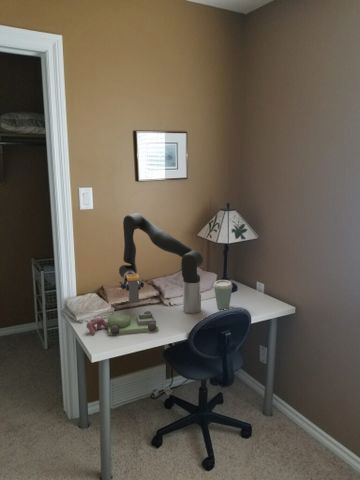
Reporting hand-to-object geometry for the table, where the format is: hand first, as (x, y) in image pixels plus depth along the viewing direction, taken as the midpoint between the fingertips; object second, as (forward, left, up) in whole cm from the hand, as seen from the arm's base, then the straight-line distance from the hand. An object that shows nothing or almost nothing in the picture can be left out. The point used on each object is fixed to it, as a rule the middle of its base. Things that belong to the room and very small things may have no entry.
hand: (133, 288), depth 203 cm
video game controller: (+19, +11, -16) cm, 28 cm away
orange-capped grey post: (0, -3, -8) cm, 8 cm away
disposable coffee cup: (-50, -3, -16) cm, 53 cm away
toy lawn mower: (+2, +10, -16) cm, 19 cm away
